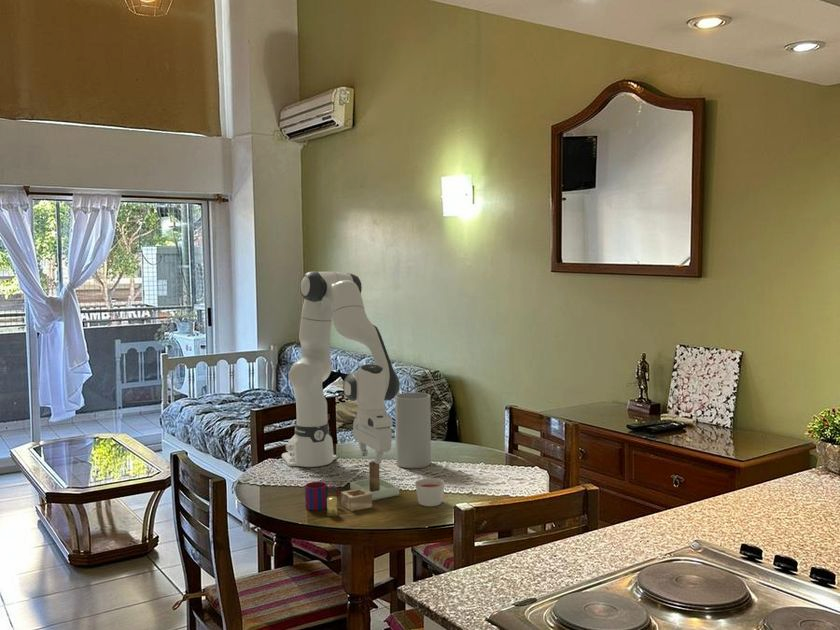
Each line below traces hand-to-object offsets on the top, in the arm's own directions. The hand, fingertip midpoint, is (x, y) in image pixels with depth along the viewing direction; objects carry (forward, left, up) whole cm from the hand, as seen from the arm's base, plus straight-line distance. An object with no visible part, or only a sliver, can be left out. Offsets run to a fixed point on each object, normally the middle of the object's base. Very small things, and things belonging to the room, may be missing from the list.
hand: (370, 459), depth 244 cm
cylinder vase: (-20, +28, -11) cm, 36 cm away
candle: (+19, +10, -11) cm, 24 cm away
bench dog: (+12, -19, -11) cm, 25 cm away
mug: (+4, -19, -11) cm, 22 cm away
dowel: (0, +1, -10) cm, 10 cm away
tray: (0, +1, -11) cm, 11 cm away
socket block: (+9, -10, -11) cm, 17 cm away
